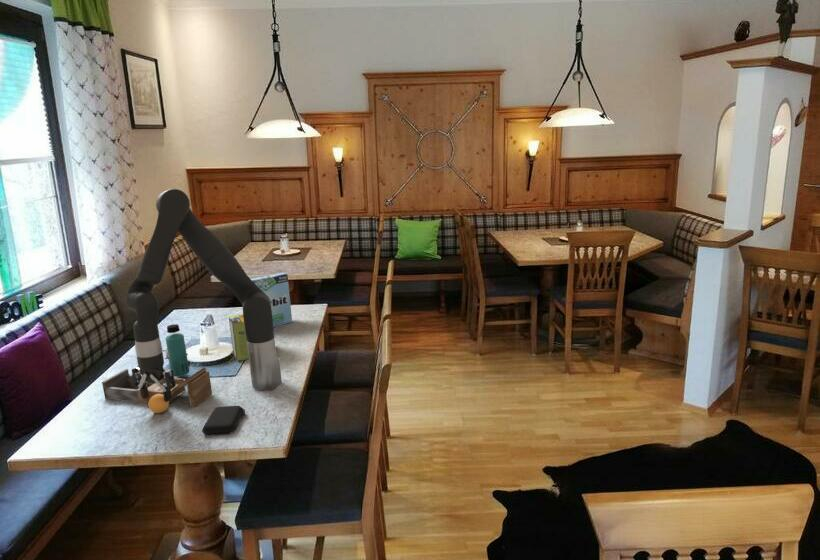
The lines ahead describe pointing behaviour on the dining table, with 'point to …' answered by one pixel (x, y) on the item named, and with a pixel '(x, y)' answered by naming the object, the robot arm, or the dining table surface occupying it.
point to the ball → (158, 403)
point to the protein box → (238, 337)
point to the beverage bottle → (177, 351)
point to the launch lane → (158, 388)
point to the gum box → (277, 296)
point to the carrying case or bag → (223, 420)
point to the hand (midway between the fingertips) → (156, 399)
